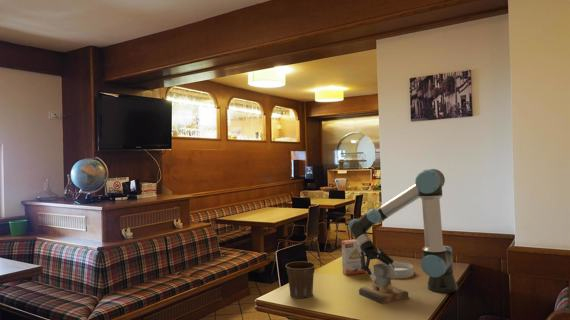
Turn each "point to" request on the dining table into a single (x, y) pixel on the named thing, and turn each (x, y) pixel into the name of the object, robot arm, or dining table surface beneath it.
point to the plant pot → (300, 278)
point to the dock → (383, 294)
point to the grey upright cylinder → (382, 278)
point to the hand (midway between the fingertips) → (385, 277)
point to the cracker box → (351, 257)
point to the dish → (402, 269)
